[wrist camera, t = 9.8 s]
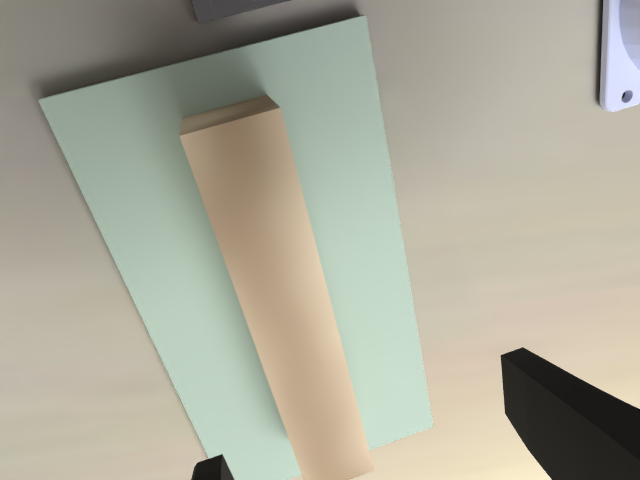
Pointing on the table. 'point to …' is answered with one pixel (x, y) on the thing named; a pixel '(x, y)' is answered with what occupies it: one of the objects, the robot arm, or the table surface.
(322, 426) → the beech rail
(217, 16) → the grey u-shaped holder
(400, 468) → the table surface
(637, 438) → the robot arm
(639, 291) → the table surface
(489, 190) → the table surface
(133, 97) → the green mat
